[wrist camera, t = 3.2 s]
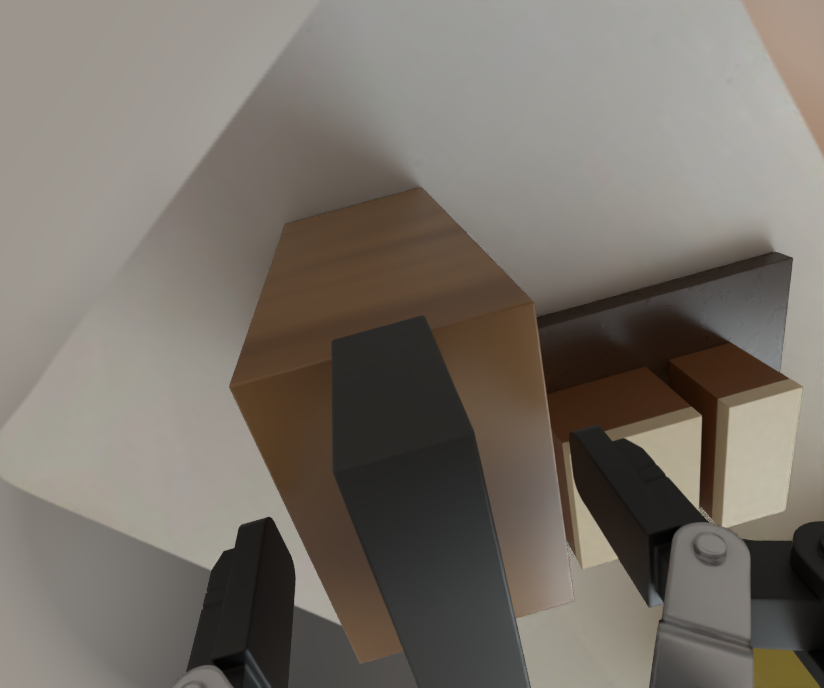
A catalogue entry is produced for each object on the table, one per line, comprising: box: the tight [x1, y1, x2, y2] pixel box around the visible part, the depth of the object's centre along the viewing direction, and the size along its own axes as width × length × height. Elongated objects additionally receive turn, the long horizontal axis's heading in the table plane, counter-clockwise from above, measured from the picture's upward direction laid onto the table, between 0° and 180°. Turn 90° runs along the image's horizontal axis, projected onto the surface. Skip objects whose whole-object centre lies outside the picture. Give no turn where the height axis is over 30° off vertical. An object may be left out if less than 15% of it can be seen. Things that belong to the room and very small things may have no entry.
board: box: [537, 252, 793, 546], centre depth 38 cm, size 20×20×2 cm
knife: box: [332, 316, 531, 688], centre depth 15 cm, size 22×2×5 cm, turn 13°
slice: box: [669, 343, 803, 528], centre depth 35 cm, size 10×4×6 cm, turn 13°
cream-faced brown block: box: [547, 367, 702, 569], centre depth 34 cm, size 10×8×6 cm
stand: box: [229, 187, 574, 663], centre depth 24 cm, size 12×8×18 cm, turn 13°
